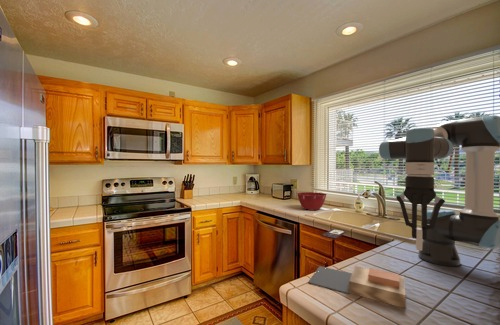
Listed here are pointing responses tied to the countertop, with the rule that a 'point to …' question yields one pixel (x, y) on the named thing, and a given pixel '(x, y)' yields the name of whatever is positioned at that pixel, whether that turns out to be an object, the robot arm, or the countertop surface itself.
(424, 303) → the countertop surface
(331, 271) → the mat
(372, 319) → the countertop surface
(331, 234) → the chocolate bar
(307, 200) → the mixing bowl
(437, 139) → the robot arm
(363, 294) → the board
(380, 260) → the countertop surface
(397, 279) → the tile
